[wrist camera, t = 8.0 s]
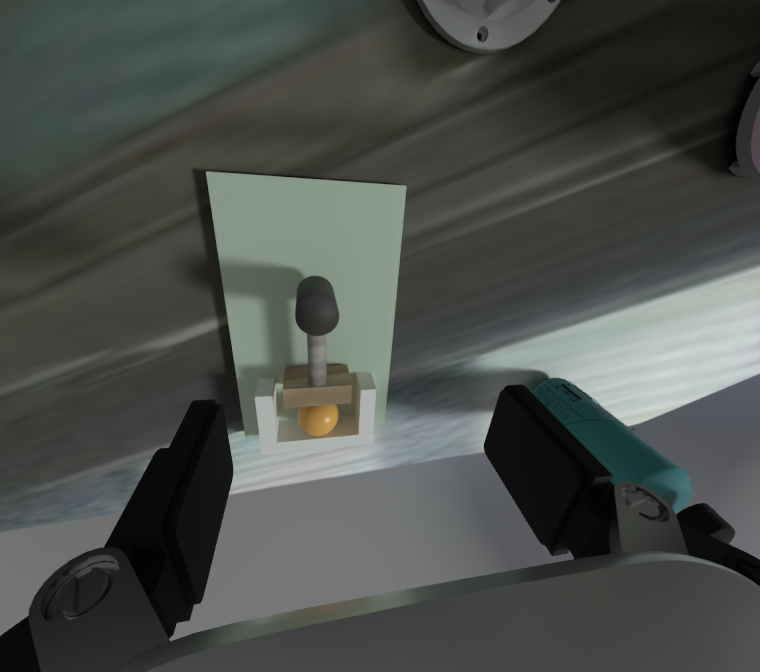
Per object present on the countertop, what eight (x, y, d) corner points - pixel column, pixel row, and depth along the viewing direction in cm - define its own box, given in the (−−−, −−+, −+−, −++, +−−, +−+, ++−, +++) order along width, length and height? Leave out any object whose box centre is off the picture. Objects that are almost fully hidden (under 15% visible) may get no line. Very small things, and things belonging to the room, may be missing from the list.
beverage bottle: (516, 416, 42) (665, 586, 25) (517, 376, 39) (688, 537, 22) (561, 403, 43) (737, 559, 25) (565, 362, 40) (770, 507, 22)
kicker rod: (277, 269, 27) (270, 295, 21) (349, 270, 28) (361, 295, 22) (286, 385, 32) (281, 432, 26) (346, 381, 33) (355, 425, 27)
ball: (297, 446, 30) (298, 422, 34) (340, 442, 31) (336, 419, 35) (295, 409, 29) (297, 388, 33) (340, 406, 30) (336, 386, 34)
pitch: (209, 171, 24) (205, 171, 23) (403, 185, 27) (406, 185, 26) (247, 431, 35) (245, 437, 34) (382, 419, 38) (384, 425, 37)
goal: (258, 378, 31) (254, 397, 29) (370, 372, 33) (376, 389, 31) (265, 434, 34) (261, 455, 32) (367, 425, 36) (372, 444, 34)
